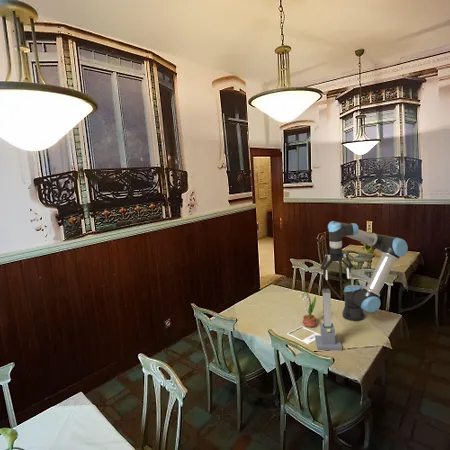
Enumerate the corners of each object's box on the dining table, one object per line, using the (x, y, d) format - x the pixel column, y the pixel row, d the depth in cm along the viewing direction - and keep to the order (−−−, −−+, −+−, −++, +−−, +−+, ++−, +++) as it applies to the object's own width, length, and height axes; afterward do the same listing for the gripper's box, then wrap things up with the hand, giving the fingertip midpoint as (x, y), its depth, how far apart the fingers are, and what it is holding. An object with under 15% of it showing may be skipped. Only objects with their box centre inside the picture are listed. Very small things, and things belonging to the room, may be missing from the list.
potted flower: (304, 330, 219) (303, 295, 215) (297, 323, 228) (296, 290, 224) (320, 326, 222) (319, 292, 218) (312, 320, 231) (311, 287, 227)
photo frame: (308, 343, 200) (286, 333, 215) (308, 345, 201) (287, 334, 215) (322, 335, 209) (301, 325, 223) (323, 336, 209) (301, 327, 224)
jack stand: (337, 338, 205) (337, 320, 203) (342, 350, 191) (341, 331, 189) (315, 338, 207) (314, 320, 205) (317, 350, 193) (317, 331, 192)
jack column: (330, 327, 199) (329, 288, 195) (331, 330, 195) (330, 291, 191) (323, 327, 200) (322, 288, 196) (324, 330, 196) (323, 291, 192)
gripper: (354, 244, 207) (355, 275, 210) (315, 247, 210) (316, 277, 213) (357, 247, 199) (359, 279, 203) (316, 249, 203) (318, 281, 206)
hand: (337, 278), depth 208 cm, fingers open, 13 cm apart
